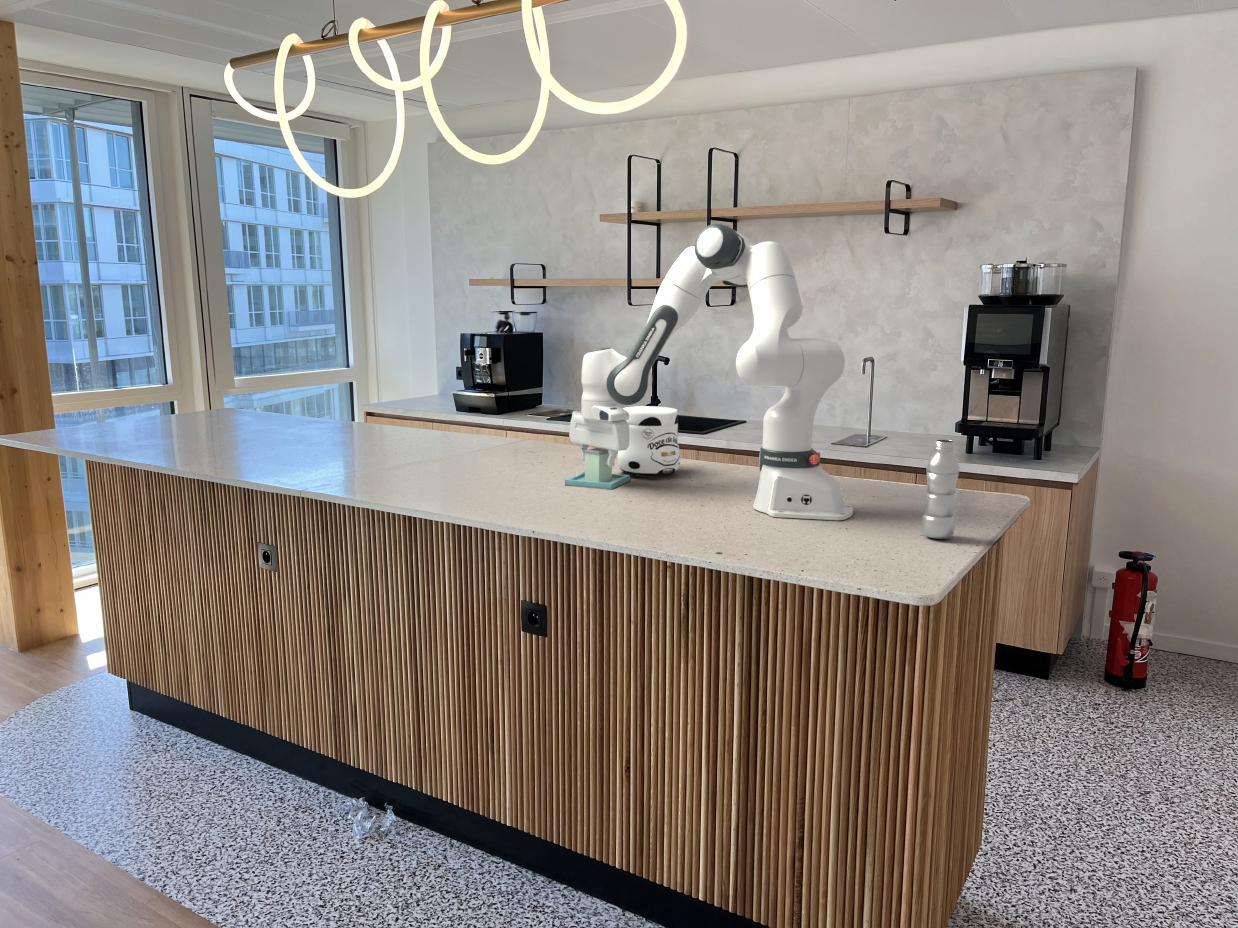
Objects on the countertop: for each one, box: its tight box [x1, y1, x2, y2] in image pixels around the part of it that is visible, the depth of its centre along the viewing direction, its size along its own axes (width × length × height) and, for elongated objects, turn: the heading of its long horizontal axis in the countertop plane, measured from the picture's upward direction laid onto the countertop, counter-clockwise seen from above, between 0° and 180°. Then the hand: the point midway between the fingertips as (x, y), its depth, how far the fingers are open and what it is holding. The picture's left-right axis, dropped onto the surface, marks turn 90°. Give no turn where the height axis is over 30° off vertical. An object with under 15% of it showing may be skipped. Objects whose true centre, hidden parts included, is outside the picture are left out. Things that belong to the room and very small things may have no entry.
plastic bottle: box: [921, 439, 960, 540], centre depth 180 cm, size 6×7×20 cm
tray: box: [564, 471, 631, 490], centre depth 233 cm, size 13×13×1 cm
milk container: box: [617, 405, 682, 478], centre depth 244 cm, size 17×17×18 cm
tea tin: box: [584, 447, 613, 482], centre depth 233 cm, size 5×5×8 cm
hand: (598, 463), depth 232 cm, fingers open, 8 cm apart
